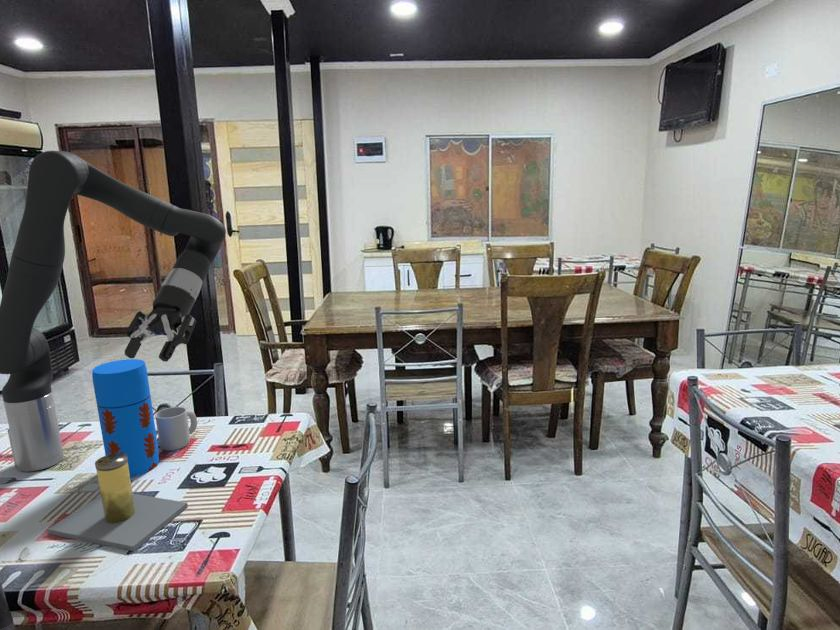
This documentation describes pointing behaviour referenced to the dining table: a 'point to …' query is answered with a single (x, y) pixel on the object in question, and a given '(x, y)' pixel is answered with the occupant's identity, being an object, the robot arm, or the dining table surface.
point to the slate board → (123, 534)
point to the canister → (115, 487)
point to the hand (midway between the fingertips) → (145, 358)
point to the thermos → (126, 413)
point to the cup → (175, 427)
